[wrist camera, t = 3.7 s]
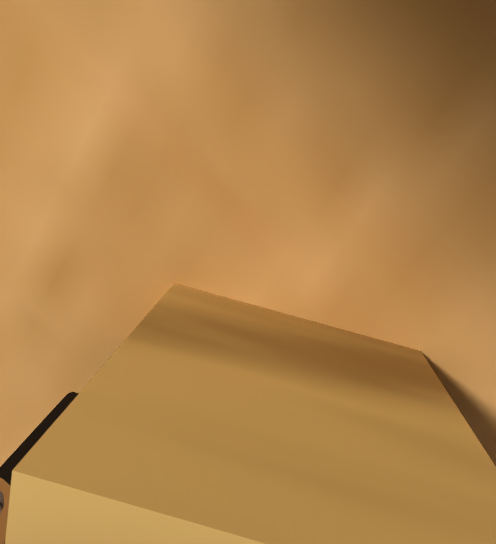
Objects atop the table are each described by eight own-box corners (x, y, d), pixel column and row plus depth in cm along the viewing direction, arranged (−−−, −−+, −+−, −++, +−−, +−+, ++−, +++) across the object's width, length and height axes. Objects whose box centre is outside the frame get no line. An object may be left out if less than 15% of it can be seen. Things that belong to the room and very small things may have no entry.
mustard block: (174, 282, 10) (11, 471, 4) (420, 351, 10) (610, 642, 4) (133, 478, 12) (-21, 800, 6) (340, 538, 11) (390, 925, 6)
